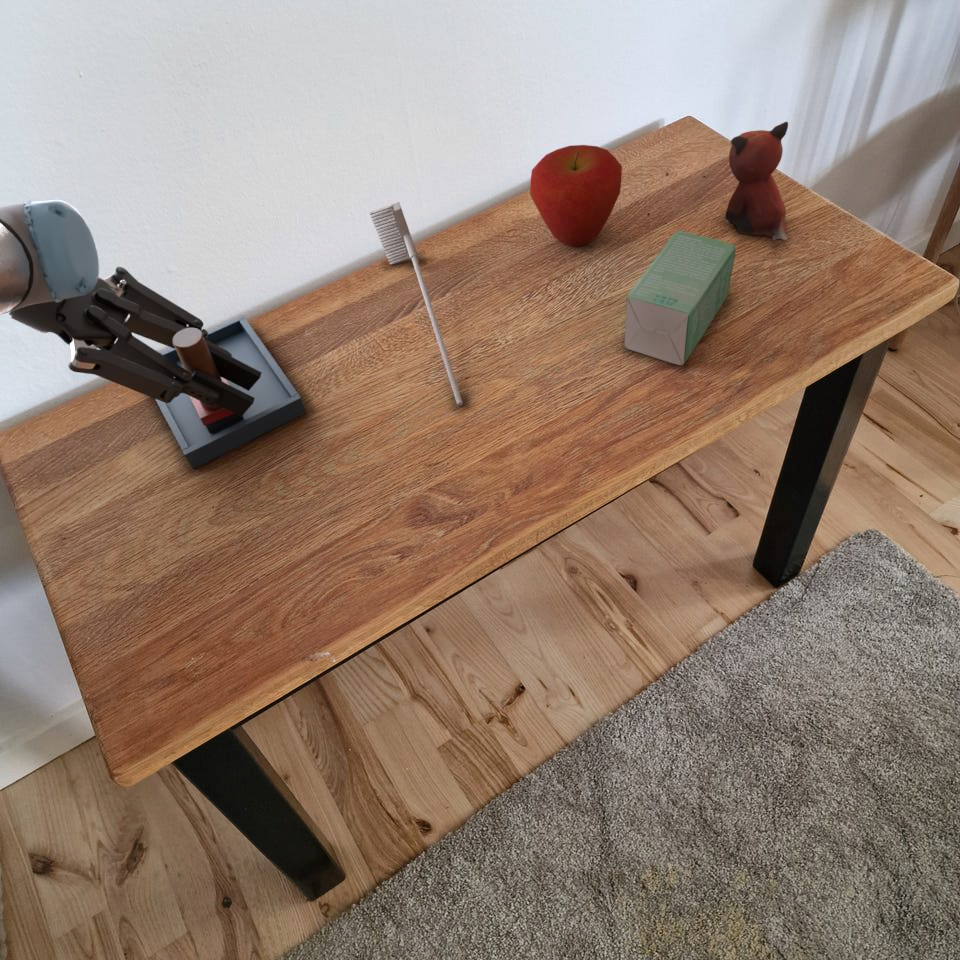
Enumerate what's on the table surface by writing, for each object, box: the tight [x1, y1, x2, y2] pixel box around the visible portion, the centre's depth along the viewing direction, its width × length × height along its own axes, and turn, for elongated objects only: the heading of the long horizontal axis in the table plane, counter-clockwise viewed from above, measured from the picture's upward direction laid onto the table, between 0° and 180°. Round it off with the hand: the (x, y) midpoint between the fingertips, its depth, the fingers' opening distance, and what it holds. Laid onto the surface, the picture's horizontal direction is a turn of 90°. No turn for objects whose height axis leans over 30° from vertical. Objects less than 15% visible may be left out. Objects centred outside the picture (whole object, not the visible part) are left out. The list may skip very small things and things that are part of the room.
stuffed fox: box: [724, 121, 789, 242], centre depth 99 cm, size 8×11×12 cm
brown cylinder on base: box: [172, 328, 244, 433], centre depth 88 cm, size 8×4×12 cm, turn 30°
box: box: [623, 231, 737, 366], centre depth 92 cm, size 7×14×8 cm, turn 149°
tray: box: [154, 314, 307, 469], centre depth 94 cm, size 18×14×2 cm
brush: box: [369, 201, 464, 407], centre depth 96 cm, size 4×28×9 cm, turn 13°
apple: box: [529, 144, 623, 248], centre depth 102 cm, size 11×11×12 cm
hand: (251, 394), depth 88 cm, fingers closed on brown cylinder on base, 3 cm apart
